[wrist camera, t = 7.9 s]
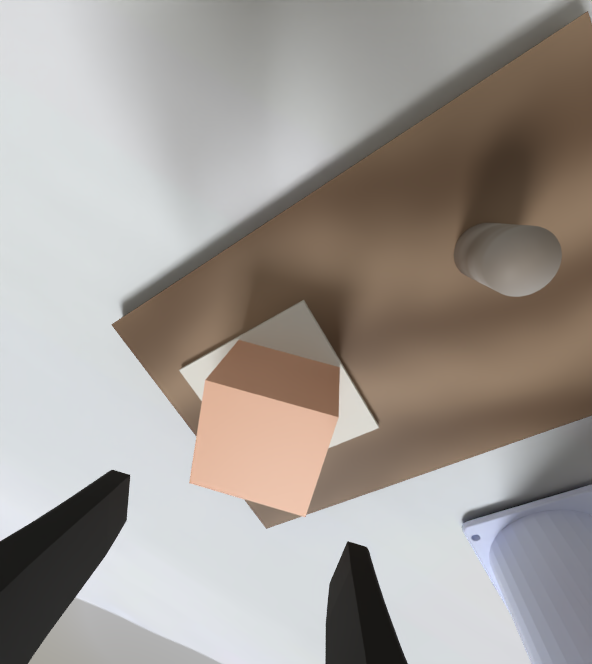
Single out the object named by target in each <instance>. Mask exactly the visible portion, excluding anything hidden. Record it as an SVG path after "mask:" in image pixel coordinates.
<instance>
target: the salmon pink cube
mask: <svg viewBox="0 0 592 664" xmlns="http://www.w3.org/2000/svg"><path fill="white" fill-rule="evenodd" d="M339 382H340V367H337V366H333V365H330V364H326V363H322V362H319V361H315V360H311V359H308V358H304V357H300V356H296V355H293V354H289V353H285V352H282V351H278V350H274V349H271V348H267V347H263V346H260V345H256V344H252V343H249V342H245V341H241V340H238V341H237V342H236V344H235V345H234V346H233V347H232V348H231V350H230V351H229V352H228V353H227V354H226V356H225V357H224V358H223V359H222V360H221V362H220V363H219V364H218V365H217V366H216V368H215V369H214V370H213V371H212V372H211V374H210V375H209V376H208V377H207V378H206V380H205V384H204V391H203V397H202V404H201V410H200V417H199V424H198V430H197V437H196V443H195V450H194V456H193V463H192V469H191V476H190V482H189V483H191V484H194V485H198V486H201V487H205V488H208V489H211V490H215V491H218V492H221V493H225V494H228V495H232V496H235V497H238V498H242V499H245V500H249V501H252V502H255V503H259V504H262V505H266V506H269V507H272V508H276V509H279V510H283V511H286V512H289V513H293V514H296V515H300V516H303V517H306V514H307V511H308V508H309V505H310V502H311V499H312V496H313V493H314V490H315V487H316V484H317V481H318V478H319V475H320V472H321V469H322V466H323V463H324V460H325V457H326V454H327V451H328V448H329V445H330V442H331V439H332V436H333V433H334V430H335V427H336V424H337V421H338V418H339Z"/></svg>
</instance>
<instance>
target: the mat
mask: <svg viewBox="0 0 592 664" xmlns="http://www.w3.org/2000/svg"><path fill="white" fill-rule="evenodd" d="M238 340H241V341H245V342H249V343H252V344H256V345H260V346H263V347H267V348H271V349H274V350H278V351H282V352H285V353H289V354H293V355H296V356H300V357H304V358H308V359H311V360H315V361H319V362H322V363H326V364H330V365H333V366H337V367H340V382H339V418H338V421H337V424H336V427H335V430H334V433H333V436H332V439H331V442H330V445H329V448H331V447H333V446H335V445H338V444H340V443H343V442H345V441H348V440H350V439H353V438H355V437H358V436H360V435H363V434H365V433H368V432H370V431H373V430H375V429H378V428H379V425H378V423H377V421H376V420H375V418H374V416H373V415H372V413H371V411H370V410H369V408H368V406H367V405H366V403H365V401H364V400H363V398H362V396H361V395H360V393H359V391H358V390H357V388H356V386H355V385H354V383H353V381H352V380H351V378H350V376H349V375H348V373H347V371H346V369H345V368H344V366H343V364H342V363H341V361H340V359H339V358H338V356H337V354H336V353H335V351H334V349H333V348H332V346H331V344H330V343H329V341H328V339H327V338H326V336H325V334H324V333H323V331H322V329H321V328H320V326H319V324H318V323H317V321H316V319H315V318H314V316H313V314H312V313H311V311H310V309H309V308H308V306H307V304H306V303H305V301H304V300H302V301H301V302H299V303H297V304H295V305H294V306H292V307H290V308H288V309H286V310H285V311H283V312H281V313H279V314H277V315H276V316H274V317H272V318H270V319H268V320H267V321H265V322H263V323H261V324H260V325H258V326H256V327H254V328H252V329H251V330H249V331H247V332H245V333H243V334H242V335H240V336H238V337H236V338H234V339H233V340H231V341H229V342H227V343H225V344H224V345H222V346H220V347H218V348H217V349H215V350H213V351H211V352H209V353H208V354H206V355H204V356H202V357H200V358H199V359H197V360H195V361H193V362H191V363H190V364H188V365H186V366H184V367H183V368H181V369H180V370H179V371H180V372H181V374H182V375H183V376H184V378H185V379H186V380H187V382H188V383H189V385H190V386H191V387H192V389H193V390H194V391H195V393H196V394H197V395H198V397H199V398H200V400H201V401H202V397H203V391H204V384H205V380H206V378H207V377H208V376H209V375H210V374H211V372H212V371H213V370H214V369H215V368H216V366H217V365H218V364H219V363H220V362H221V360H222V359H223V358H224V357H225V356H226V354H227V353H228V352H229V351H230V350H231V348H232V347H233V346H234V345H235V344H236V342H237V341H238Z"/></svg>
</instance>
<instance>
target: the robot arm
mask: <svg viewBox="0 0 592 664" xmlns="http://www.w3.org/2000/svg"><path fill="white" fill-rule="evenodd" d="M129 483H130V475H128V474H125V473H122V472H118V471H115V470H111V471H109V472H107V473H106V474H105V475H103V476H102V477H100V478H99V479H97V480H96V481H94V482H93V483H91V484H90V485H88V486H87V487H85V488H84V489H83V490H81V491H80V492H78V493H77V494H75V495H74V496H72V497H71V498H69V499H68V500H66V501H65V502H63V503H61V504H60V505H58V506H57V507H55V508H54V509H52V510H51V511H49V512H47V513H46V514H44V515H43V516H41V517H40V518H38V519H37V520H35V521H33V522H32V523H30V524H28V525H27V526H25V527H23V528H22V529H20V530H18V531H17V532H15V533H13V534H12V535H10V536H8V537H7V538H5V539H3V540H2V541H0V664H28V663H29V661H30V659H31V658H32V656H33V655H34V653H35V652H36V651H37V649H38V648H39V646H40V645H41V643H42V642H43V640H44V639H45V638H46V636H47V635H48V633H49V632H50V631H51V629H52V628H53V627H54V625H55V624H56V622H57V621H58V620H59V618H60V617H61V616H62V614H63V613H64V611H65V610H66V609H67V608H68V606H69V605H70V603H71V602H72V601H73V599H74V598H75V597H76V595H77V594H78V593H79V591H80V590H81V589H82V587H83V586H84V584H85V583H86V582H87V580H88V579H89V578H90V576H91V575H92V574H93V572H94V571H95V569H96V568H97V567H98V565H99V564H100V563H101V561H102V560H103V558H104V557H105V556H106V554H107V552H108V551H109V549H110V547H111V546H112V544H113V543H114V541H115V539H116V538H117V536H118V534H119V532H120V531H121V529H122V527H123V526H124V524H125V522H126V520H127V508H128V496H129ZM462 530H463V532H464V534H465V536H466V538H467V540H468V541H469V543H470V545H471V547H472V548H473V550H474V552H475V553H476V555H477V557H478V559H479V560H480V562H481V564H482V566H483V567H484V569H485V571H486V572H487V574H488V576H489V578H490V579H491V581H492V583H493V585H494V586H495V588H496V590H497V592H498V593H499V595H500V597H501V598H502V600H503V602H504V604H505V605H506V607H507V609H508V611H509V612H510V614H511V616H512V618H513V621H514V623H515V626H516V628H517V630H518V633H519V635H520V638H521V640H522V642H523V645H524V647H525V650H526V652H527V654H528V657H529V659H530V662H531V664H592V484H591V485H588V486H584V487H581V488H578V489H574V490H571V491H568V492H564V493H561V494H557V495H554V496H551V497H547V498H544V499H540V500H537V501H534V502H530V503H527V504H524V505H520V506H517V507H513V508H510V509H507V510H503V511H500V512H497V513H493V514H490V515H486V516H483V517H480V518H476V519H473V520H469V521H467V522H465V523H464V524H463V525H462ZM326 664H408V663H407V661H406V658H405V656H404V653H403V651H402V648H401V646H400V643H399V640H398V638H397V635H396V632H395V629H394V627H393V624H392V621H391V619H390V616H389V613H388V610H387V607H386V604H385V601H384V598H383V595H382V592H381V589H380V586H379V583H378V580H377V577H376V574H375V570H374V567H373V564H372V560H371V557H370V553H369V550H368V549H367V547H365V546H361V545H358V544H355V543H352V542H347V544H346V546H345V549H344V551H343V553H342V556H341V558H340V560H339V563H338V565H337V568H336V570H335V572H334V575H333V577H332V579H331V582H330V585H329V595H328V605H327V617H326Z"/></svg>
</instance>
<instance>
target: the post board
mask: <svg viewBox="0 0 592 664" xmlns="http://www.w3.org/2000/svg"><path fill="white" fill-rule="evenodd" d="M302 300H304V301H305V303H306V304H307V306H308V308H309V309H310V311H311V313H312V314H313V316H314V318H315V319H316V321H317V323H318V324H319V326H320V328H321V329H322V331H323V333H324V334H325V336H326V338H327V339H328V341H329V343H330V344H331V346H332V348H333V349H334V351H335V353H336V354H337V356H338V358H339V359H340V361H341V363H342V364H343V366H344V368H345V369H346V371H347V373H348V375H349V376H350V378H351V380H352V381H353V383H354V385H355V386H356V388H357V390H358V391H359V393H360V395H361V396H362V398H363V400H364V401H365V403H366V405H367V406H368V408H369V410H370V411H371V413H372V415H373V416H374V418H375V420H376V421H377V423H378V425H379V428H378V429H375V430H373V431H370V432H368V433H365V434H363V435H360V436H358V437H355V438H353V439H350V440H348V441H345V442H343V443H340V444H338V445H335V446H333V447H331V448H328V451H327V454H326V457H325V460H324V463H323V466H322V469H321V472H320V475H319V478H318V481H317V484H316V487H315V490H314V493H313V496H312V499H311V502H310V505H309V508H308V511H307V514H310V513H313V512H316V511H319V510H321V509H324V508H327V507H330V506H333V505H336V504H339V503H342V502H344V501H347V500H350V499H353V498H356V497H359V496H362V495H365V494H367V493H370V492H373V491H376V490H379V489H382V488H385V487H388V486H390V485H393V484H396V483H399V482H402V481H405V480H408V479H411V478H413V477H416V476H419V475H422V474H425V473H428V472H431V471H433V470H436V469H439V468H442V467H445V466H448V465H451V464H454V463H456V462H459V461H462V460H465V459H468V458H471V457H474V456H477V455H479V454H482V453H485V452H488V451H491V450H494V449H497V448H500V447H502V446H505V445H508V444H511V443H514V442H517V441H520V440H523V439H525V438H528V437H531V436H534V435H537V434H540V433H543V432H546V431H548V430H551V429H554V428H557V427H560V426H563V425H566V424H569V423H571V422H574V421H577V420H580V419H583V418H586V417H589V416H591V415H592V23H591V20H590V17H589V13H588V12H586V13H584V14H583V15H581V16H580V17H578V18H577V19H575V20H574V21H572V22H571V23H569V24H568V25H566V26H565V27H563V28H562V29H560V30H559V31H557V32H556V33H554V34H553V35H551V36H549V37H548V38H546V39H545V40H543V41H542V42H540V43H539V44H537V45H536V46H534V47H533V48H531V49H530V50H528V51H527V52H525V53H524V54H522V55H521V56H519V57H518V58H516V59H515V60H513V61H511V62H510V63H508V64H507V65H505V66H504V67H502V68H501V69H499V70H498V71H496V72H495V73H493V74H492V75H490V76H489V77H487V78H486V79H484V80H483V81H481V82H480V83H478V84H477V85H475V86H473V87H472V88H470V89H469V90H467V91H466V92H464V93H463V94H461V95H460V96H458V97H457V98H455V99H454V100H452V101H451V102H449V103H448V104H446V105H445V106H443V107H442V108H440V109H439V110H437V111H435V112H434V113H432V114H431V115H429V116H428V117H426V118H425V119H423V120H422V121H420V122H419V123H417V124H416V125H414V126H413V127H411V128H410V129H408V130H407V131H405V132H404V133H402V134H401V135H399V136H397V137H396V138H394V139H393V140H391V141H390V142H388V143H387V144H385V145H384V146H382V147H381V148H379V149H378V150H376V151H375V152H373V153H372V154H370V155H369V156H367V157H366V158H364V159H362V160H361V161H359V162H358V163H356V164H355V165H353V166H352V167H350V168H349V169H347V170H346V171H344V172H343V173H341V174H340V175H338V176H337V177H335V178H334V179H332V180H331V181H329V182H328V183H326V184H324V185H323V186H321V187H320V188H318V189H317V190H315V191H314V192H312V193H311V194H309V195H308V196H306V197H305V198H303V199H302V200H300V201H299V202H297V203H296V204H294V205H293V206H291V207H290V208H288V209H286V210H285V211H283V212H282V213H280V214H279V215H277V216H276V217H274V218H273V219H271V220H270V221H268V222H267V223H265V224H264V225H262V226H261V227H259V228H258V229H256V230H255V231H253V232H252V233H250V234H248V235H247V236H245V237H244V238H242V239H241V240H239V241H238V242H236V243H235V244H233V245H232V246H230V247H229V248H227V249H226V250H224V251H223V252H221V253H220V254H218V255H217V256H215V257H214V258H212V259H210V260H209V261H207V262H206V263H204V264H203V265H201V266H200V267H198V268H197V269H195V270H194V271H192V272H191V273H189V274H188V275H186V276H185V277H183V278H182V279H180V280H179V281H177V282H175V283H174V284H172V285H171V286H169V287H168V288H166V289H165V290H163V291H162V292H160V293H159V294H157V295H156V296H154V297H153V298H151V299H150V300H148V301H147V302H145V303H144V304H142V305H141V306H139V307H137V308H136V309H134V310H133V311H131V312H130V313H128V314H127V315H125V316H124V317H122V318H121V319H119V320H118V321H116V322H115V323H113V324H112V326H113V327H114V329H115V330H116V331H117V333H118V334H119V335H120V337H121V338H122V339H123V341H124V342H125V343H126V345H127V346H128V347H129V349H130V350H131V351H132V352H133V354H134V355H135V356H136V358H137V359H138V360H139V362H140V363H141V364H142V366H143V367H144V368H145V370H146V371H147V372H148V374H149V375H150V376H151V377H152V379H153V380H154V381H155V383H156V384H157V385H158V387H159V388H160V389H161V391H162V392H163V393H164V395H165V396H166V397H167V398H168V400H169V401H170V402H171V404H172V405H173V406H174V408H175V409H176V410H177V412H178V413H179V414H180V416H181V417H182V418H183V420H184V421H185V422H186V423H187V425H188V426H189V427H190V429H191V430H192V431H193V433H194V434H195V435H196V437H197V430H198V424H199V417H200V410H201V404H202V401H201V400H200V398H199V397H198V395H197V394H196V393H195V391H194V390H193V389H192V387H191V386H190V385H189V383H188V382H187V380H186V379H185V378H184V376H183V375H182V374H181V372H180V371H179V370H180V369H181V368H183V367H184V366H186V365H188V364H190V363H191V362H193V361H195V360H197V359H199V358H200V357H202V356H204V355H206V354H208V353H209V352H211V351H213V350H215V349H217V348H218V347H220V346H222V345H224V344H225V343H227V342H229V341H231V340H233V339H234V338H236V337H238V336H240V335H242V334H243V333H245V332H247V331H249V330H251V329H252V328H254V327H256V326H258V325H260V324H261V323H263V322H265V321H267V320H268V319H270V318H272V317H274V316H276V315H277V314H279V313H281V312H283V311H285V310H286V309H288V308H290V307H292V306H294V305H295V304H297V303H299V302H301V301H302ZM244 500H245V499H244ZM245 501H246V502H247V504H248V505H249V506H250V508H251V509H252V510H253V512H254V513H255V514H256V516H257V517H258V518H259V520H260V521H261V522H262V523H263V525H264V526H265V527H266V529H267V528H270V527H273V526H275V525H278V524H281V523H284V522H287V521H290V520H293V519H296V518H298V517H301V516H300V515H296V514H293V513H289V512H286V511H283V510H279V509H276V508H272V507H269V506H266V505H262V504H259V503H255V502H252V501H249V500H245ZM307 514H306V515H307Z"/></svg>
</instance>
